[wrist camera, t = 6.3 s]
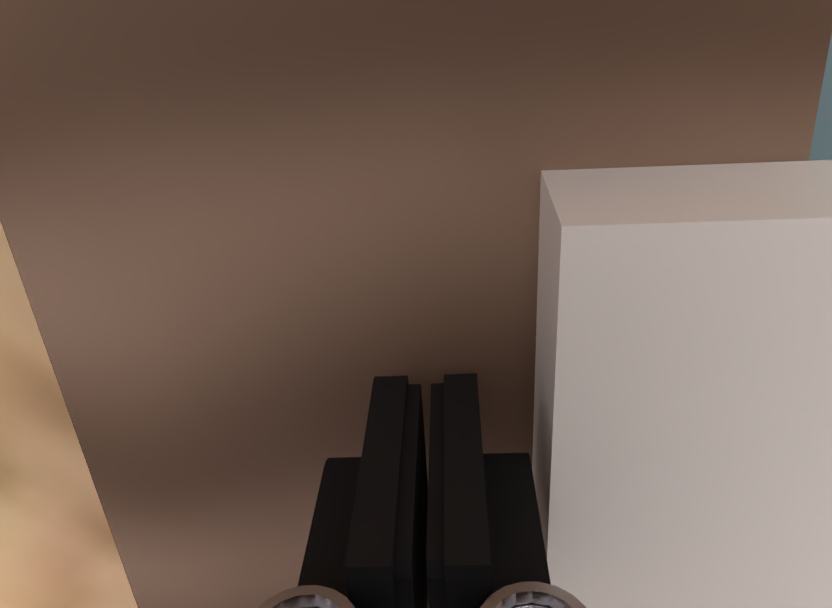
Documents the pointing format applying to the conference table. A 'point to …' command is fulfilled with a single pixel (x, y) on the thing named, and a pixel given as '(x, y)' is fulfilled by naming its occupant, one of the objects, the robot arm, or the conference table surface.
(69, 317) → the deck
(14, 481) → the conference table surface
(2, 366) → the conference table surface
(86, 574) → the conference table surface
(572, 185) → the white rectangular block
